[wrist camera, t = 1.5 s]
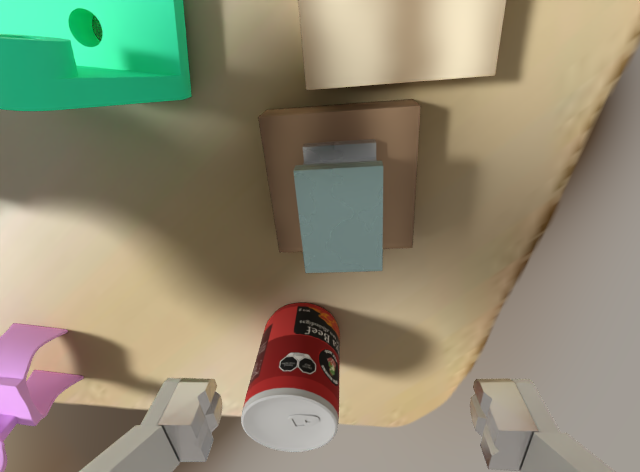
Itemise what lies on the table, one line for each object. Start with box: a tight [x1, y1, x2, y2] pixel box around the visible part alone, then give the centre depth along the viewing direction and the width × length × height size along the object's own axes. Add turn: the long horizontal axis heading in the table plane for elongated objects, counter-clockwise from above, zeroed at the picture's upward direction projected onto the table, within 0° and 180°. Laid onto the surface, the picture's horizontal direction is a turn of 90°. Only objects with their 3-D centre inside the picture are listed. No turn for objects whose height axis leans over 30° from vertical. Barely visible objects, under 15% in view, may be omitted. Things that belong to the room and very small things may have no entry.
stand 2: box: [258, 99, 421, 252], centre depth 28 cm, size 11×11×3 cm
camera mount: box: [0, 0, 192, 111], centre depth 20 cm, size 12×8×10 cm, turn 85°
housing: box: [293, 139, 383, 273], centre depth 24 cm, size 5×7×6 cm
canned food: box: [241, 303, 340, 452], centre depth 33 cm, size 8×8×11 cm
